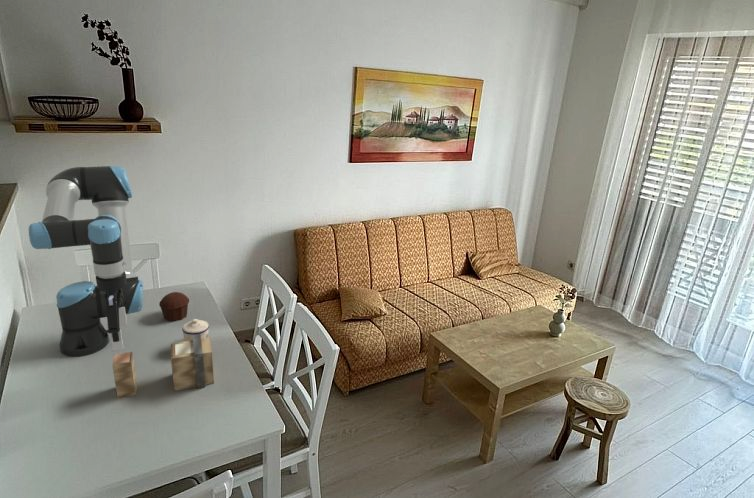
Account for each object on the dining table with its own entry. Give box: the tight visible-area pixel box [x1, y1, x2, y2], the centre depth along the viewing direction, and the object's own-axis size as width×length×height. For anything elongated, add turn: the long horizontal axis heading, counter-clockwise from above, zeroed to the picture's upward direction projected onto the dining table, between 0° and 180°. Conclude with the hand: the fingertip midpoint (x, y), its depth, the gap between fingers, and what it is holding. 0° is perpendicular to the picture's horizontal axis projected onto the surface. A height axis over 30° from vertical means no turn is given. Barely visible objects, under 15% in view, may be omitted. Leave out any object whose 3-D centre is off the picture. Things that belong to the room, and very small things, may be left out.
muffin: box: [159, 291, 190, 322], centre depth 187 cm, size 12×11×10 cm
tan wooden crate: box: [170, 334, 215, 391], centre depth 149 cm, size 12×12×13 cm
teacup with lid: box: [181, 318, 210, 342], centre depth 167 cm, size 12×9×12 cm
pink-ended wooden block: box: [112, 351, 138, 399], centre depth 141 cm, size 5×6×12 cm
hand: (120, 337), depth 138 cm, fingers open, 13 cm apart
